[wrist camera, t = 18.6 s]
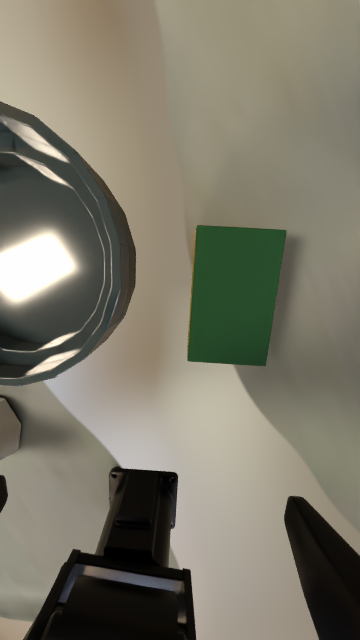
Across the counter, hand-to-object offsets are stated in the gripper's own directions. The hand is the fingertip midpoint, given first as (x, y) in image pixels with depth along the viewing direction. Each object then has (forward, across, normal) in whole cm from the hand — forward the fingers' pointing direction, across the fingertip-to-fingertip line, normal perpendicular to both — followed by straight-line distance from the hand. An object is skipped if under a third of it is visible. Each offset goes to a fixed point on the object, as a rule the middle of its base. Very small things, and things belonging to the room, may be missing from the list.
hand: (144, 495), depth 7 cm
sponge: (+12, -4, -5) cm, 14 cm away
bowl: (+12, +11, -7) cm, 18 cm away
